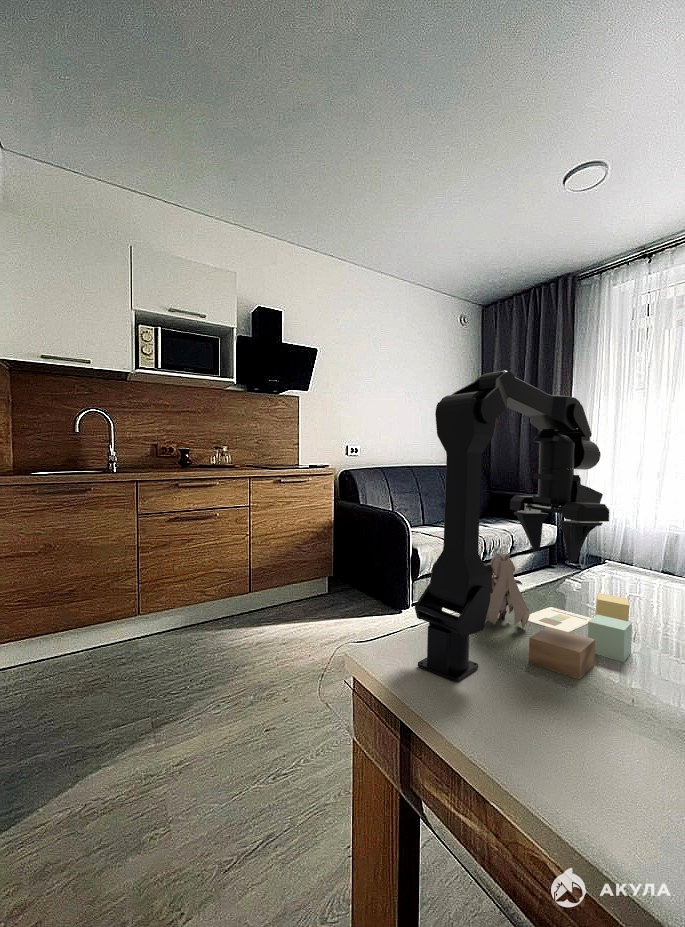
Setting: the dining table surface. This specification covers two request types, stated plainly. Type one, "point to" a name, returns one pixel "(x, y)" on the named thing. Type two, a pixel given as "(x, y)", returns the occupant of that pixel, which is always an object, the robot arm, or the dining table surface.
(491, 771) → the dining table surface
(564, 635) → the base block
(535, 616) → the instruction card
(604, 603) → the brick
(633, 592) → the dining table surface
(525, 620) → the toy
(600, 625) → the pale green cube
